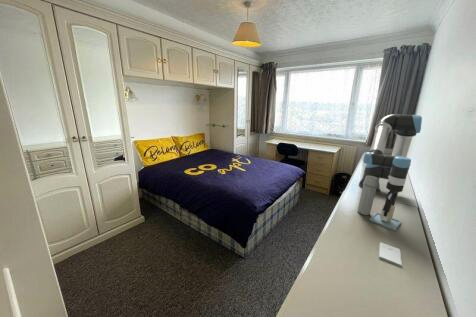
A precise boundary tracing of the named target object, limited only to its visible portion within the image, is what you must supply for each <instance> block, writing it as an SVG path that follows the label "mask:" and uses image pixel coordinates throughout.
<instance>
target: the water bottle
mask: <svg viewBox="0 0 476 317" xmlns="http://www.w3.org/2000/svg"><path fill="white" fill-rule="evenodd" d="M377 184H378V178H377V177H374V176H366V177H365V180H364V182H363V188H361V192H360V193H361V194H360V198H359V202H358V207H357V212H358V213H359V214H362V215H364V216H369V215H371V213H372V212H371V211H372V207H373V204H374V200H375V196H376V193H377V191H376V189H377V187H378V185H377Z"/></svg>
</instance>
